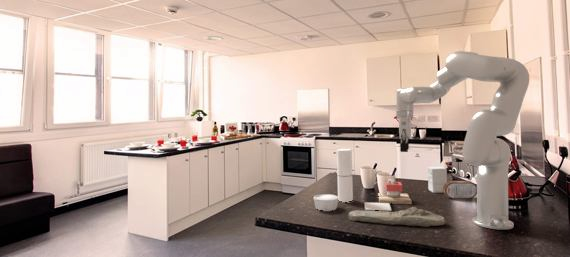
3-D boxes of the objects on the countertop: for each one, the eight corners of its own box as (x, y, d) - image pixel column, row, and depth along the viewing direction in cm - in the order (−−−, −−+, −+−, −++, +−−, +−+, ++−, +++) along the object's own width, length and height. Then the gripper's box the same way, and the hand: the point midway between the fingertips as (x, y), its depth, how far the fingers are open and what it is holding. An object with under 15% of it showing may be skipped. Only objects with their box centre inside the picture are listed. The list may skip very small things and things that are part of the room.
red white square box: (402, 191, 147) (402, 185, 147) (386, 191, 149) (386, 184, 149) (400, 187, 154) (400, 181, 154) (385, 187, 156) (385, 181, 156)
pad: (391, 211, 134) (391, 210, 134) (365, 210, 136) (364, 209, 136) (389, 204, 145) (389, 203, 145) (364, 203, 147) (364, 202, 147)
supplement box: (442, 189, 169) (441, 166, 168) (447, 192, 161) (447, 168, 161) (428, 189, 170) (427, 166, 169) (432, 192, 162) (432, 168, 162)
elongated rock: (350, 218, 131) (347, 227, 122) (349, 205, 131) (346, 214, 121) (442, 219, 121) (447, 229, 111) (441, 205, 120) (446, 215, 111)
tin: (475, 197, 151) (475, 180, 151) (478, 199, 148) (478, 181, 148) (442, 197, 153) (442, 180, 152) (445, 199, 150) (445, 181, 149)
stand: (411, 204, 143) (411, 184, 143) (379, 203, 146) (379, 184, 146) (407, 196, 157) (406, 178, 157) (378, 195, 160) (377, 178, 160)
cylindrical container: (337, 202, 150) (336, 150, 150) (338, 198, 157) (337, 149, 157) (352, 202, 149) (351, 150, 148) (353, 198, 156) (351, 148, 155)
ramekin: (320, 204, 149) (319, 193, 149) (342, 206, 143) (342, 195, 143) (309, 210, 139) (309, 198, 139) (333, 213, 134) (332, 201, 133)
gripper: (412, 114, 138) (412, 153, 140) (413, 114, 154) (413, 148, 155) (394, 115, 142) (394, 152, 143) (397, 114, 157) (397, 148, 158)
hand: (404, 150), depth 149 cm, fingers open, 9 cm apart
